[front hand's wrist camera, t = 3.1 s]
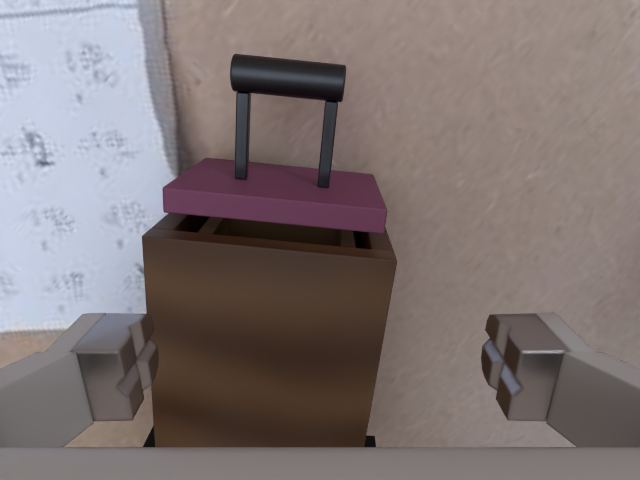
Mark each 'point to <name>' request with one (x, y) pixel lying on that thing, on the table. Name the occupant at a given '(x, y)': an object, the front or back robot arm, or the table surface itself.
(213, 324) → the cabinet
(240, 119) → the drawer
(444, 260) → the table surface
